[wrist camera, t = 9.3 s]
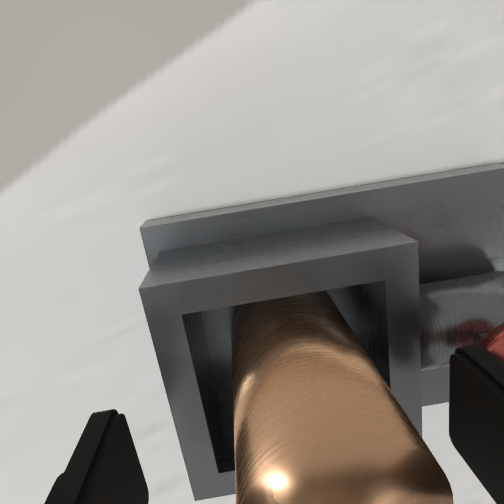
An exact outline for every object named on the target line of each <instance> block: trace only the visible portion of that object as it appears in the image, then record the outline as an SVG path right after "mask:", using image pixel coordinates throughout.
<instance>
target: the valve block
mask: <svg viewBox="0 0 504 504" xmlns="http://www.w3.org/2000/svg"><path fill="white" fill-rule="evenodd" d="M140 232H141V236H142V240H143V244H144V248H145V252H146V256H147V260H148V264H149V268H150V269H149V271H148V273H147V275H146V277H145V278H144V280H143V282H142V284H141V285H140V287H139V292H140V296H141V299H142V303H143V307H144V311H145V315H146V318H147V322H148V326H149V330H150V333H151V337H152V341H153V345H154V348H155V352H156V356H157V360H158V364H159V367H160V371H161V375H162V379H163V382H164V386H165V390H166V394H167V397H168V401H169V405H170V409H171V413H172V416H173V420H174V424H175V428H176V431H177V435H178V439H179V443H180V446H181V450H182V454H183V458H184V462H185V465H186V469H187V473H188V477H189V480H190V484H191V488H192V492H193V495H194V499H195V501H197V500H203V499H208V498H214V497H220V496H225V495H231V494H236V483H235V449H234V415H233V381H232V347H231V324H232V319H233V316H234V313H235V311H236V309H237V307H238V305H241V304H247V303H253V302H259V301H265V300H270V299H276V298H282V297H288V296H294V295H300V294H306V293H312V292H318V291H325V292H326V293H327V294H328V295H329V296H330V297H331V299H332V300H333V302H334V303H335V305H336V306H337V308H338V309H339V311H340V312H341V314H342V316H343V317H344V319H345V320H346V322H347V323H348V325H349V326H350V328H351V329H352V331H353V333H354V334H355V336H356V337H357V339H358V340H359V342H360V343H361V345H362V346H363V348H364V349H365V351H366V353H367V354H368V356H369V357H370V359H371V360H372V362H373V363H374V365H375V366H376V368H377V370H378V371H379V373H380V374H381V376H382V377H383V379H384V380H385V382H386V383H387V385H388V387H389V388H390V390H391V391H392V393H393V394H394V396H395V397H396V399H397V400H398V402H399V404H400V405H401V407H402V408H403V410H404V411H405V413H406V414H407V416H408V417H409V419H410V421H411V422H412V424H413V425H414V427H415V428H416V430H417V431H418V433H419V434H420V436H421V438H422V406H428V405H433V404H439V403H445V402H449V379H450V356H451V355H452V354H454V353H455V350H456V348H458V347H464V346H469V345H475V344H480V345H482V346H483V347H484V348H486V349H487V350H488V351H489V352H491V353H492V354H493V355H494V356H495V357H497V358H498V359H499V360H500V361H502V362H503V363H504V164H499V163H494V164H488V165H482V166H476V167H470V168H464V169H458V170H452V171H446V172H439V173H433V174H427V175H421V176H415V177H409V178H403V179H397V180H391V181H385V182H379V183H373V184H367V185H360V186H354V187H348V188H342V189H336V190H330V191H324V192H318V193H312V194H306V195H300V196H294V197H287V198H281V199H275V200H269V201H263V202H257V203H251V204H245V205H239V206H233V207H227V208H221V209H214V210H208V211H202V212H196V213H190V214H184V215H178V216H172V217H166V218H160V219H154V220H148V221H145V223H144V224H143V225H142V226H141V227H140Z"/></svg>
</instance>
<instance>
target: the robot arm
mask: <svg viewBox="0 0 504 504" xmlns="http://www.w3.org/2000/svg"><path fill="white" fill-rule="evenodd" d="M449 435H450V438H451V441H452V443H453V445H454V447H455V448H456V450H457V451H458V452H459V454H460V455H461V456H462V458H463V459H464V460H465V462H466V463H467V464H468V466H469V467H470V468H471V470H472V471H473V472H474V474H475V475H476V477H477V478H478V479H479V481H480V482H481V483H482V485H483V486H484V487H485V489H486V490H487V491H488V493H489V494H490V495H491V497H492V498H493V499H494V501H495V502H496V503H497V504H504V363H503V362H502V361H500V360H499V359H498V358H497V357H495V356H494V355H493V354H492V353H491V352H489V351H488V350H487V349H486V348H484V347H483V346H482V345H480V344H475V345H469V346H464V347H458V348H456V350H455V353H454V354H452V355H451V356H450V379H449ZM148 500H149V494H148V487H147V484H146V481H145V478H144V475H143V471H142V468H141V465H140V462H139V459H138V456H137V452H136V449H135V446H134V443H133V440H132V437H131V433H130V430H129V427H128V424H127V421H126V418H125V415H124V414H118V412H117V411H116V410H115V409H113V410H107V411H102V412H96V413H93V414H92V415H91V416H90V418H89V420H88V423H87V425H86V427H85V429H84V431H83V433H82V435H81V438H80V440H79V442H78V444H77V446H76V448H75V450H74V453H73V455H72V457H71V459H70V461H69V463H68V465H67V468H66V470H65V472H64V473H62V474H61V475H60V476H58V478H57V479H56V481H55V483H54V485H53V487H52V489H51V491H50V493H49V495H48V497H47V499H46V501H45V504H148Z"/></svg>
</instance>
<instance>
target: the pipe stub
mask: <svg viewBox="0 0 504 504" xmlns="http://www.w3.org/2000/svg"><path fill="white" fill-rule="evenodd" d="M231 347H232V381H233V415H234V449H235V483H236V504H453V494H452V490H451V486H450V483H449V481H448V479H447V477H446V475H445V473H444V471H443V470H442V468H441V467H440V465H439V464H438V462H437V461H436V459H435V458H434V456H433V454H432V453H431V451H430V450H429V448H428V447H427V445H426V444H425V442H424V441H423V439H422V438H421V436H420V434H419V433H418V431H417V430H416V428H415V427H414V425H413V424H412V422H411V421H410V419H409V417H408V416H407V414H406V413H405V411H404V410H403V408H402V407H401V405H400V404H399V402H398V400H397V399H396V397H395V396H394V394H393V393H392V391H391V390H390V388H389V387H388V385H387V383H386V382H385V380H384V379H383V377H382V376H381V374H380V373H379V371H378V370H377V368H376V366H375V365H374V363H373V362H372V360H371V359H370V357H369V356H368V354H367V353H366V351H365V349H364V348H363V346H362V345H361V343H360V342H359V340H358V339H357V337H356V336H355V334H354V333H353V331H352V329H351V328H350V326H349V325H348V323H347V322H346V320H345V319H344V317H343V316H342V314H341V312H340V311H339V309H338V308H337V306H336V305H335V303H334V302H333V300H332V299H331V297H330V296H329V295H328V294H327V293H326V292H325V291H318V292H312V293H306V294H300V295H294V296H288V297H282V298H276V299H270V300H265V301H259V302H253V303H247V304H241V305H238V307H237V309H236V311H235V313H234V316H233V319H232V324H231Z"/></svg>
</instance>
